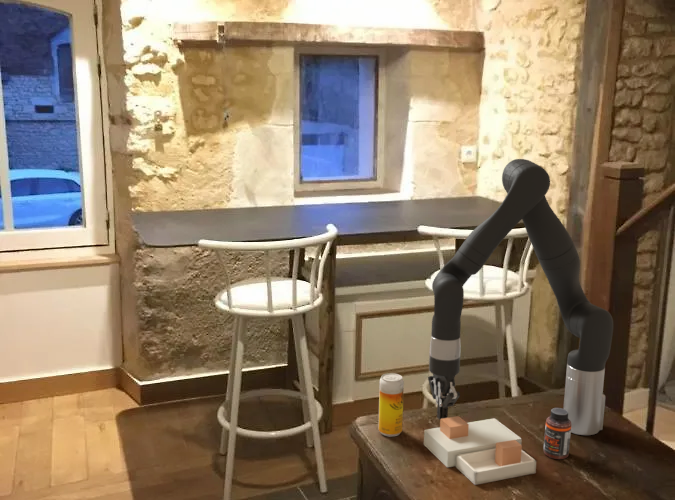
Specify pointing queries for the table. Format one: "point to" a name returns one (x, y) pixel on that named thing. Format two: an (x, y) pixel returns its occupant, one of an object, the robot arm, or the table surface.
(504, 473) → the tray
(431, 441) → the slab
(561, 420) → the supplement bottle
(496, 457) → the tile
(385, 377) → the beer can
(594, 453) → the table surface
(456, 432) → the orange square block
